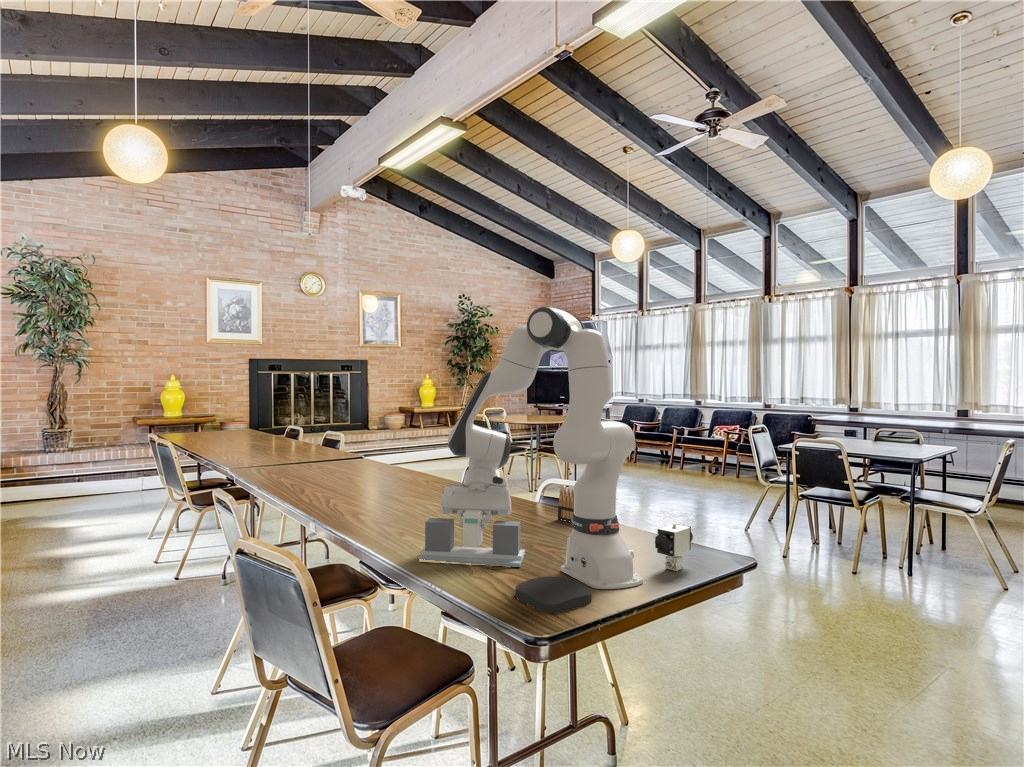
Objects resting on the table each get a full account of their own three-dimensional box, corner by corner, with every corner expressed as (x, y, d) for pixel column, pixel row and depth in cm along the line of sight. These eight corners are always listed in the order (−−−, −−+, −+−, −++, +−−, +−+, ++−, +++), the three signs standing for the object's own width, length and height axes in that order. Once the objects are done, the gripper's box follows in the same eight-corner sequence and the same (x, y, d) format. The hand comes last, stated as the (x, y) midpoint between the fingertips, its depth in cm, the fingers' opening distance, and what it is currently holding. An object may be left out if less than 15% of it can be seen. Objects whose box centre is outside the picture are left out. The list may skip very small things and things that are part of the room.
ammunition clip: (557, 519, 200) (557, 486, 200) (560, 518, 202) (560, 485, 202) (581, 525, 193) (581, 490, 193) (584, 524, 194) (584, 489, 194)
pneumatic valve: (693, 566, 150) (693, 521, 150) (670, 576, 142) (670, 529, 142) (674, 561, 154) (675, 518, 154) (651, 570, 146) (651, 525, 146)
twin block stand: (520, 567, 147) (520, 529, 147) (417, 562, 151) (418, 525, 151) (525, 554, 159) (525, 518, 159) (430, 549, 163) (430, 514, 163)
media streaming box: (548, 618, 116) (548, 604, 116) (508, 596, 128) (508, 583, 128) (599, 602, 125) (599, 589, 125) (557, 583, 137) (557, 571, 137)
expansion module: (478, 547, 152) (479, 514, 152) (462, 546, 153) (463, 513, 153) (482, 541, 157) (482, 509, 157) (466, 540, 158) (467, 509, 158)
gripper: (443, 477, 163) (434, 518, 154) (512, 479, 160) (507, 522, 151) (447, 489, 168) (438, 530, 158) (514, 492, 165) (509, 534, 155)
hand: (472, 526), depth 154 cm, fingers closed on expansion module, 4 cm apart
